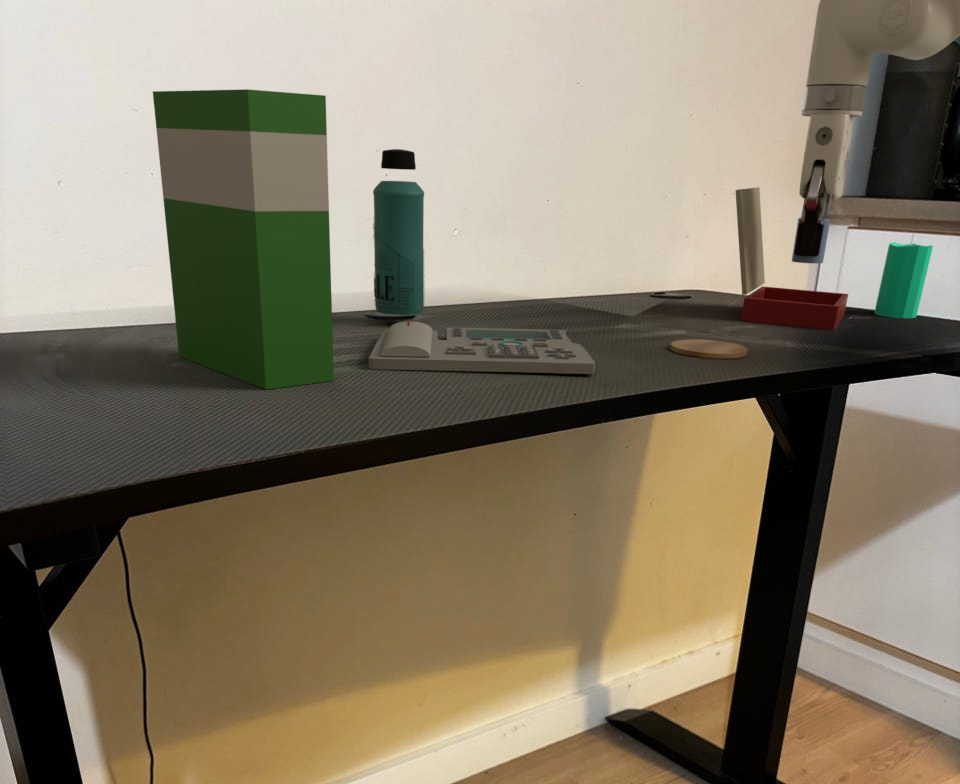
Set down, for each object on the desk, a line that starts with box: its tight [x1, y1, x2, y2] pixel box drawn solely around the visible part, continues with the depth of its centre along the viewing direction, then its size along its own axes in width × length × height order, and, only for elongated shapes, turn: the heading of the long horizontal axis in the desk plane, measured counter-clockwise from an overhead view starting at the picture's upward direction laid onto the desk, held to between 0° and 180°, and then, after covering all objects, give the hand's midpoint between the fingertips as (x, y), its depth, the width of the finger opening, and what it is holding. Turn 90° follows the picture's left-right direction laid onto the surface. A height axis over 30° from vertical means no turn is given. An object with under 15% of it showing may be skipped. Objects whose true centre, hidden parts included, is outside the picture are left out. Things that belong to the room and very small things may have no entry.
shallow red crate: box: [740, 285, 849, 331], centre depth 137 cm, size 12×15×4 cm
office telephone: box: [368, 319, 596, 375], centre depth 107 cm, size 23×3×20 cm
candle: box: [874, 232, 934, 319], centre depth 142 cm, size 6×6×12 cm
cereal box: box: [152, 88, 335, 390], centre depth 91 cm, size 18×7×24 cm, turn 41°
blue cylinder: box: [791, 217, 831, 264], centre depth 132 cm, size 4×4×6 cm
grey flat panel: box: [735, 186, 766, 296], centre depth 135 cm, size 13×15×1 cm
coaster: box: [670, 338, 749, 360], centre depth 115 cm, size 9×9×1 cm
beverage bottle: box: [372, 148, 426, 316], centre depth 119 cm, size 6×7×20 cm
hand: (808, 253), depth 133 cm, fingers closed on blue cylinder, 4 cm apart
